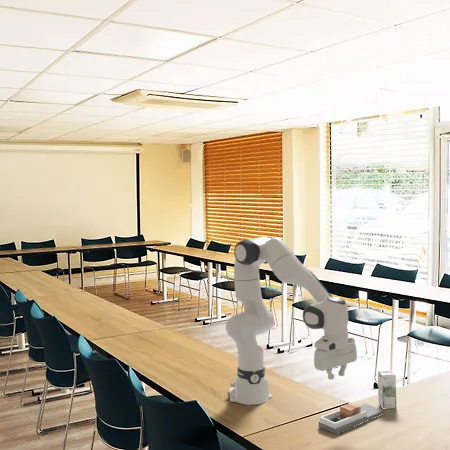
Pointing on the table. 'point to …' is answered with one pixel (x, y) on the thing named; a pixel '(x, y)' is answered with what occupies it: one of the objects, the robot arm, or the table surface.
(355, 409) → the block
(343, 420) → the channel
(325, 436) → the table surface
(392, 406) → the syrup box
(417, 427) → the table surface
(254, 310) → the robot arm
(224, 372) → the table surface
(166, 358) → the table surface
